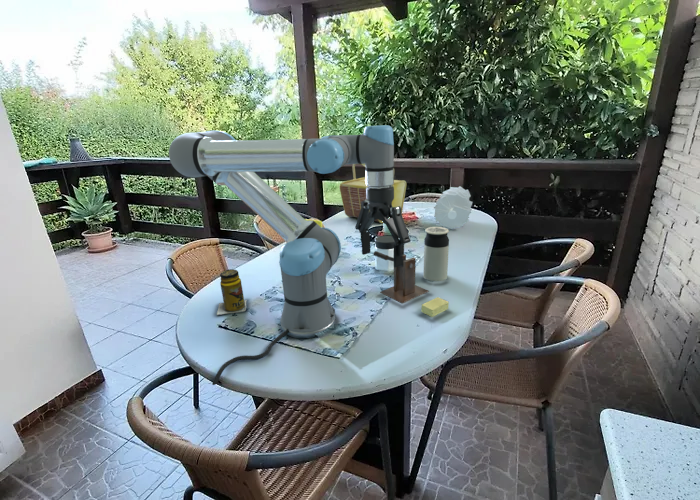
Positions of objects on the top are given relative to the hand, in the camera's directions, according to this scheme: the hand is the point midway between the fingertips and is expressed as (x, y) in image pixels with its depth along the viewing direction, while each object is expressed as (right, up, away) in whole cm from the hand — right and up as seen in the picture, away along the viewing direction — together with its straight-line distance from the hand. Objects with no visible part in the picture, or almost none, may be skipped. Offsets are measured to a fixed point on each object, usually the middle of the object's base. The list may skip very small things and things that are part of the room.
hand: (381, 259), depth 106 cm
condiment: (-46, -15, +8) cm, 49 cm away
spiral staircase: (+44, +16, +82) cm, 94 cm away
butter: (+15, -16, -1) cm, 22 cm away
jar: (+5, -5, +31) cm, 31 cm away
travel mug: (+20, -8, +20) cm, 30 cm away
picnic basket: (+4, +21, +102) cm, 104 cm away
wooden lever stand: (+8, -12, +11) cm, 18 cm away
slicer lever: (+4, -1, +4) cm, 5 cm away
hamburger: (-26, +5, +61) cm, 67 cm away
